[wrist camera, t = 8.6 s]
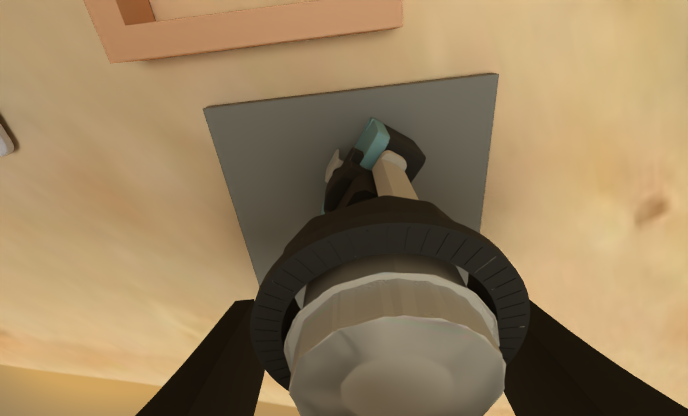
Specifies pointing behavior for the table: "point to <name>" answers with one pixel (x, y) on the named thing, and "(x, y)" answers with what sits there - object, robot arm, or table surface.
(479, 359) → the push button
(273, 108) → the rubber pad
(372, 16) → the rectangular frame
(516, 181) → the table surface
